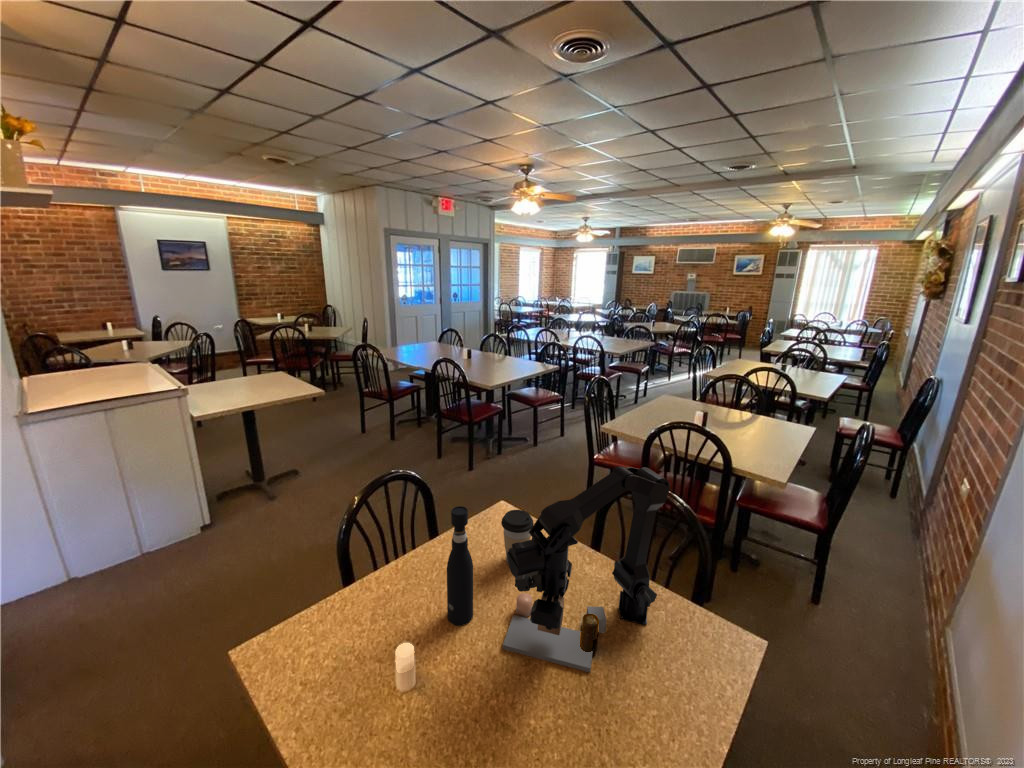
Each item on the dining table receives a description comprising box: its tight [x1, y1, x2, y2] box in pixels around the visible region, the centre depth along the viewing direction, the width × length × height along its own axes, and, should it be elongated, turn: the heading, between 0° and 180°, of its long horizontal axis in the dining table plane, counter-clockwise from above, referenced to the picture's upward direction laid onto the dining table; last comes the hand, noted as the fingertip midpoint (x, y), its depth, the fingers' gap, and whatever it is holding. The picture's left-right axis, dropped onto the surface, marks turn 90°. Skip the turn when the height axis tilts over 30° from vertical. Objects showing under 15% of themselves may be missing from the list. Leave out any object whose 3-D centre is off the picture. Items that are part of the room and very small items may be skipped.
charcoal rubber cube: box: [586, 605, 607, 634], centre depth 102 cm, size 4×4×4 cm
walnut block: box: [538, 593, 565, 635], centre depth 95 cm, size 5×5×6 cm
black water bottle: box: [446, 505, 474, 627], centre depth 101 cm, size 6×6×30 cm
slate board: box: [502, 614, 594, 673], centre depth 97 cm, size 20×9×1 cm, turn 74°
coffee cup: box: [501, 509, 535, 564], centre depth 123 cm, size 9×9×15 cm
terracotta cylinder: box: [515, 592, 533, 619], centre depth 106 cm, size 4×4×4 cm
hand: (550, 619), depth 96 cm, fingers closed on walnut block, 5 cm apart
